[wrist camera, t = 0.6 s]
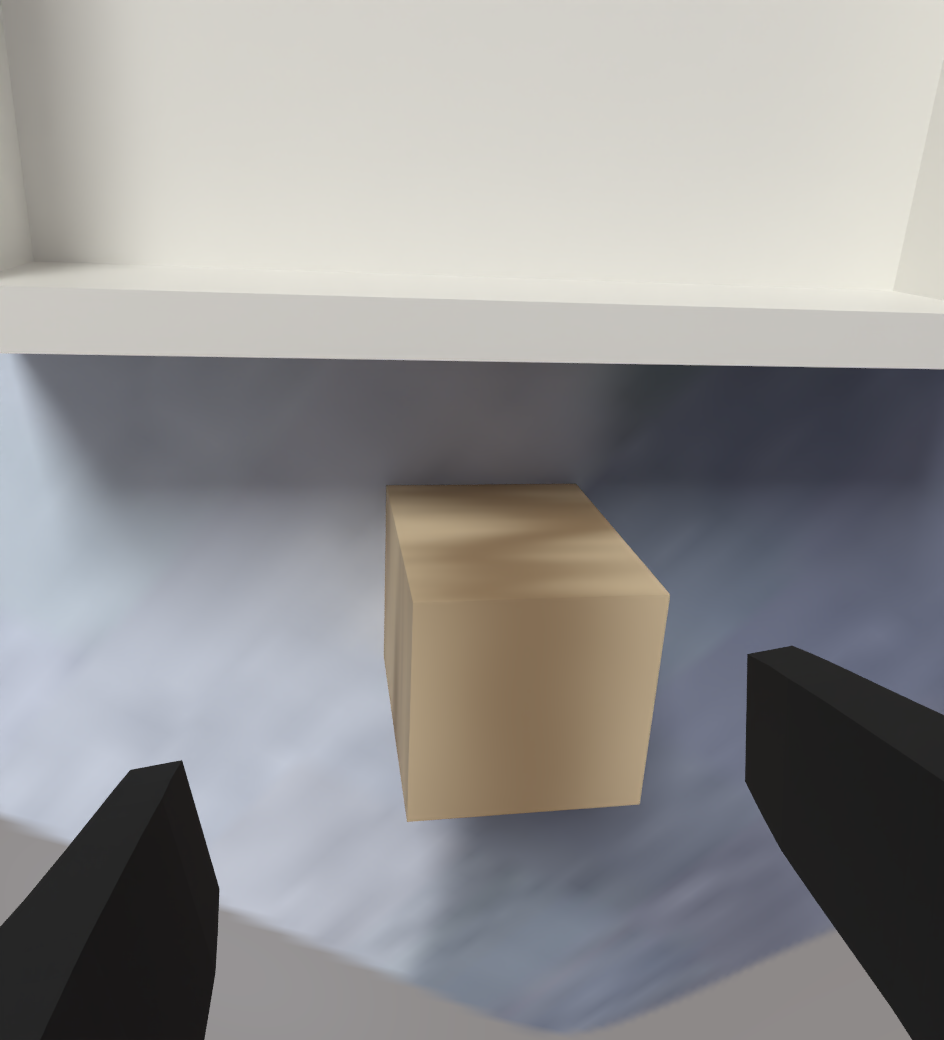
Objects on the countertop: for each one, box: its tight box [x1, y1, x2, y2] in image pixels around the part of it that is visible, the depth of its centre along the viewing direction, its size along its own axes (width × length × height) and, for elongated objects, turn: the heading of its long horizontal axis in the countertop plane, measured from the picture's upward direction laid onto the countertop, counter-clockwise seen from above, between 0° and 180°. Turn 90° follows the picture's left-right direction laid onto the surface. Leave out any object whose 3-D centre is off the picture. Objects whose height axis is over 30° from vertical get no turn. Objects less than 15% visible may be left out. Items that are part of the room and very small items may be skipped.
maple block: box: [384, 484, 670, 822], centre depth 18 cm, size 4×4×6 cm
